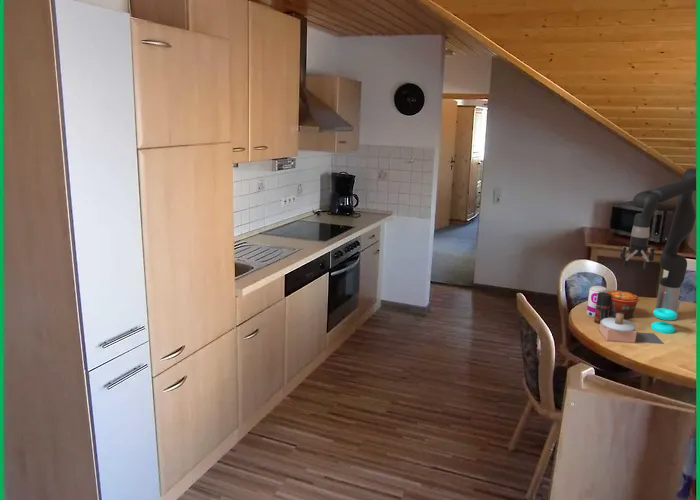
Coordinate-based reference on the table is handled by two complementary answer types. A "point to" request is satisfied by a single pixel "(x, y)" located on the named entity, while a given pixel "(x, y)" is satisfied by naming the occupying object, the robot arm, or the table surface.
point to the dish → (617, 335)
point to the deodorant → (602, 306)
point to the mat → (647, 338)
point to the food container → (622, 303)
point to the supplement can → (593, 299)
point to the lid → (619, 323)
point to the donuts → (664, 315)
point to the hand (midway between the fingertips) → (635, 268)
